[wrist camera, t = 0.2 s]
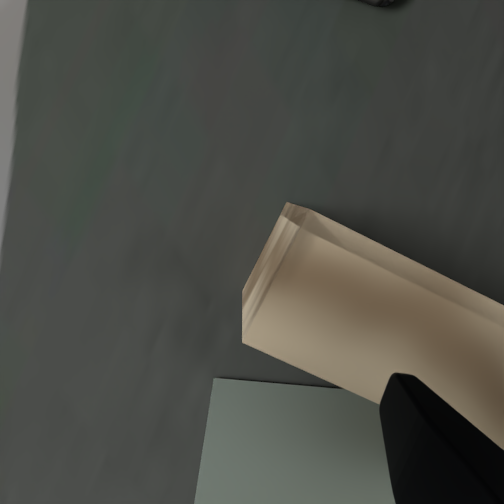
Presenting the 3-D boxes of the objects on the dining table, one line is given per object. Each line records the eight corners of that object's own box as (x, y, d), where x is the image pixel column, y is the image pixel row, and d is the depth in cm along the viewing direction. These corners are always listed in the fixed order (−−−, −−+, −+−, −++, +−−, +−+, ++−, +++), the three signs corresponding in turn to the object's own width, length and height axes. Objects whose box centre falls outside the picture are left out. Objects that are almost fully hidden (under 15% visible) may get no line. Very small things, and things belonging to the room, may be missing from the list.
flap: (465, 414, 25) (669, 619, 13) (212, 392, 24) (182, 588, 12) (468, 400, 25) (677, 595, 13) (213, 377, 24) (185, 562, 12)
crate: (463, 393, 25) (566, 488, 17) (242, 290, 23) (242, 342, 16) (512, 314, 24) (643, 375, 16) (286, 202, 23) (309, 209, 15)
